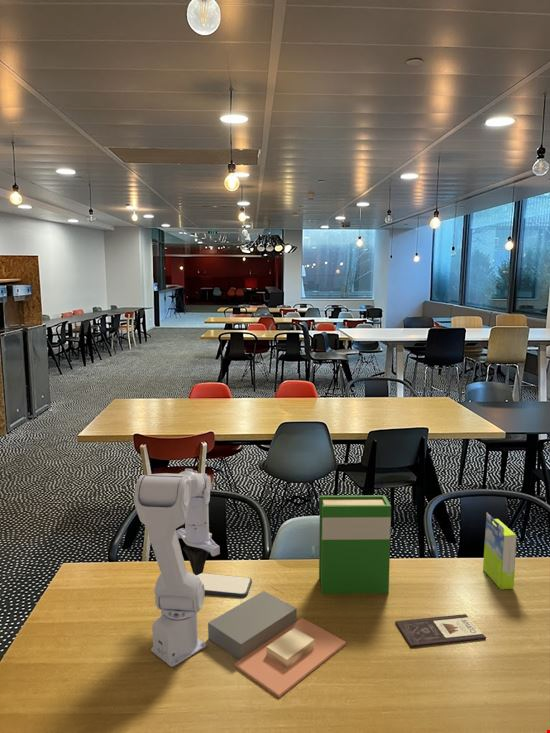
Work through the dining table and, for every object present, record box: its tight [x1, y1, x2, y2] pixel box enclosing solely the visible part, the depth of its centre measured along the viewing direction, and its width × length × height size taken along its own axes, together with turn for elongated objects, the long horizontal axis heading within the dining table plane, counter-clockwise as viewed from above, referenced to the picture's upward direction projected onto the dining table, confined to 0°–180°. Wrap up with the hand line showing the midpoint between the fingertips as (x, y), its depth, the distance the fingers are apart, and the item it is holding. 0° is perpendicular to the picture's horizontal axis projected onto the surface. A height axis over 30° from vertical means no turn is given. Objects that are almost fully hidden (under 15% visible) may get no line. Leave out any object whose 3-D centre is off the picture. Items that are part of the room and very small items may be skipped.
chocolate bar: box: [394, 613, 486, 649], centre depth 125 cm, size 9×1×18 cm
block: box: [207, 590, 298, 661], centre depth 124 cm, size 18×11×4 cm, turn 136°
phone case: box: [196, 572, 253, 599], centre depth 144 cm, size 9×2×16 cm
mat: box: [233, 617, 347, 698], centre depth 116 cm, size 22×13×1 cm, turn 136°
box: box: [482, 512, 517, 590], centre depth 146 cm, size 10×4×17 cm, turn 4°
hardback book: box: [318, 494, 392, 595], centre depth 142 cm, size 18×7×24 cm, turn 91°
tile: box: [266, 628, 315, 668], centre depth 117 cm, size 9×6×2 cm, turn 136°
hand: (198, 573), depth 133 cm, fingers closed
